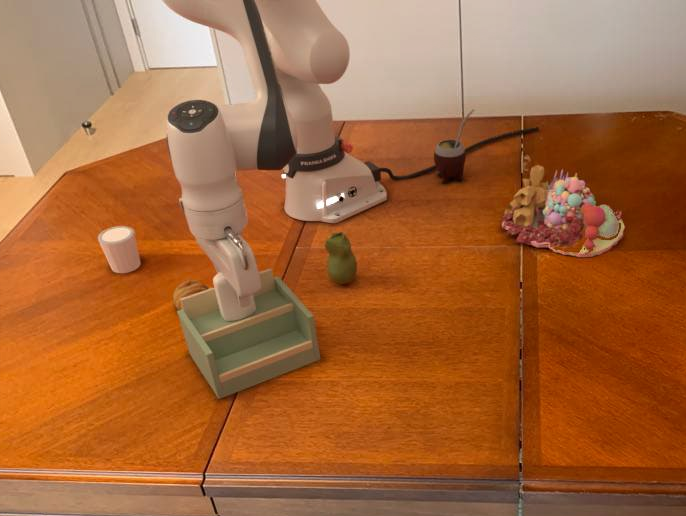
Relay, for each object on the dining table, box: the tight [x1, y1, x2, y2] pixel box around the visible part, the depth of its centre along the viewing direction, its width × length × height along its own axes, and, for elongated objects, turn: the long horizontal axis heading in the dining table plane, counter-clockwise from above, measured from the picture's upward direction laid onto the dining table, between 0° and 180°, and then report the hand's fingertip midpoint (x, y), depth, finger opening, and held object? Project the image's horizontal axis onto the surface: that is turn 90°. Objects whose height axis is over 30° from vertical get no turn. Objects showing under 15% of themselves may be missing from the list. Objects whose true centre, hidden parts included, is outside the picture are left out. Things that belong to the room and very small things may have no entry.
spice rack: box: [176, 267, 321, 400], centre depth 132 cm, size 18×14×11 cm
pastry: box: [172, 279, 210, 311], centre depth 146 cm, size 9×7×4 cm
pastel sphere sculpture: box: [501, 164, 626, 258], centre depth 162 cm, size 25×24×9 cm
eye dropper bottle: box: [212, 272, 256, 322], centre depth 129 cm, size 4×6×12 cm
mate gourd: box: [433, 108, 475, 185], centre depth 178 cm, size 8×8×15 cm
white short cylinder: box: [97, 225, 142, 274], centre depth 157 cm, size 7×7×7 cm
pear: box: [324, 231, 358, 285], centre depth 149 cm, size 6×5×10 cm
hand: (234, 292), depth 131 cm, fingers open, 7 cm apart
